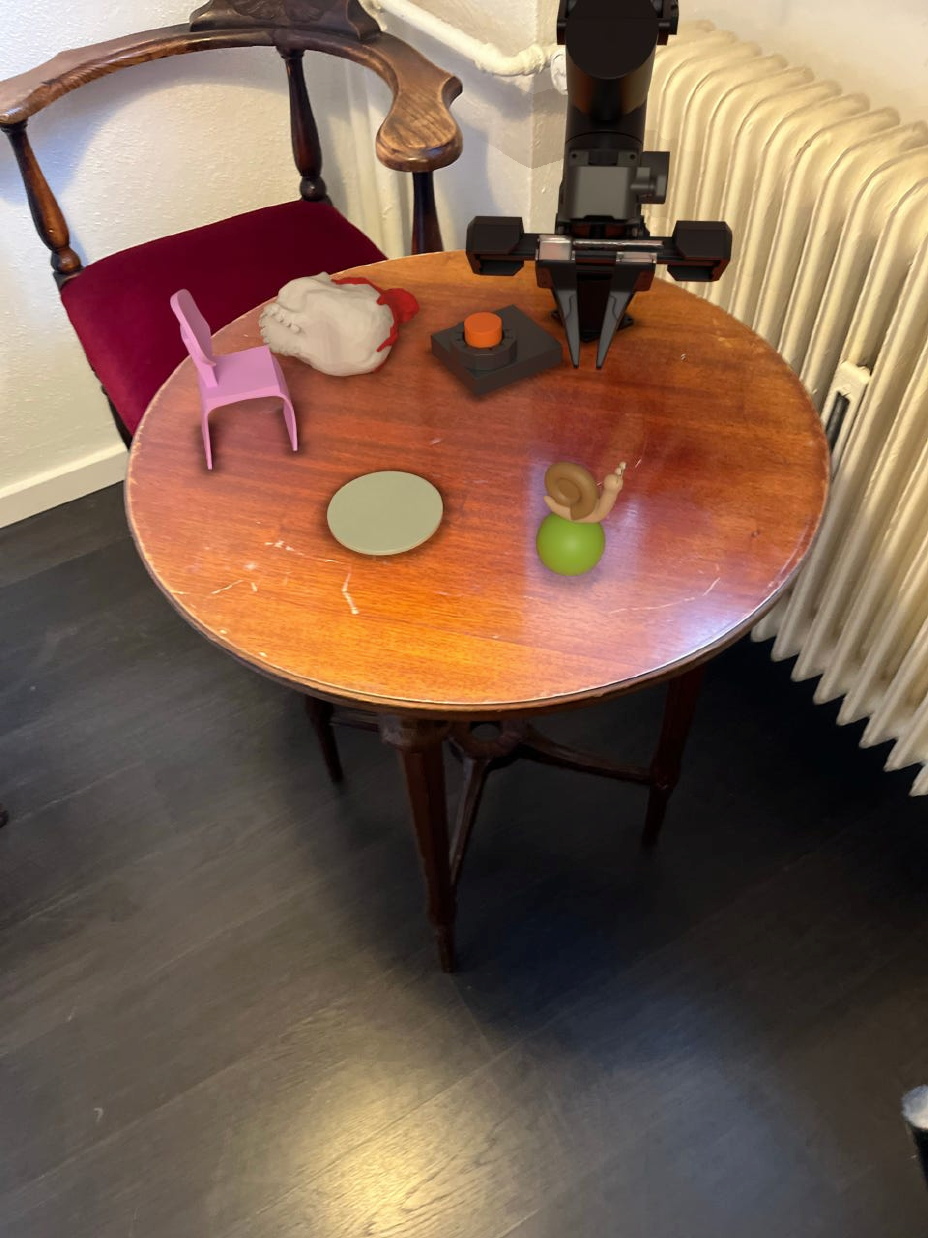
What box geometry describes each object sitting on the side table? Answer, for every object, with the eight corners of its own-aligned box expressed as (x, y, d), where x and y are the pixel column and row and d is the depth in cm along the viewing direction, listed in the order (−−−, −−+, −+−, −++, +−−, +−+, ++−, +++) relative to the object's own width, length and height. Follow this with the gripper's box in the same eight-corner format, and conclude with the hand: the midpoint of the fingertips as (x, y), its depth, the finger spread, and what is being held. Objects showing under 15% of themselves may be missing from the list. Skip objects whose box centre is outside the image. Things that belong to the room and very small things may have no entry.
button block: (513, 322, 95) (513, 287, 92) (561, 363, 90) (563, 328, 87) (429, 354, 92) (426, 319, 89) (474, 398, 87) (473, 363, 84)
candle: (260, 366, 91) (373, 321, 98) (330, 412, 85) (443, 361, 93) (249, 280, 84) (370, 239, 92) (323, 324, 79) (445, 276, 87)
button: (489, 323, 88) (489, 307, 87) (508, 341, 86) (508, 324, 85) (458, 335, 87) (457, 319, 86) (477, 353, 85) (476, 337, 84)
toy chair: (304, 456, 82) (270, 309, 71) (209, 477, 81) (158, 331, 69) (290, 403, 87) (256, 259, 76) (200, 422, 86) (152, 278, 75)
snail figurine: (594, 604, 69) (607, 489, 60) (523, 574, 72) (524, 459, 63) (625, 560, 72) (641, 444, 63) (555, 532, 75) (561, 416, 65)
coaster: (408, 460, 81) (408, 456, 81) (464, 525, 76) (464, 521, 75) (309, 502, 78) (308, 497, 78) (359, 572, 73) (358, 568, 72)
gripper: (462, 95, 58) (448, 341, 59) (758, 97, 56) (734, 352, 57) (480, 164, 69) (467, 371, 70) (727, 168, 67) (708, 381, 68)
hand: (587, 368), depth 66 cm, fingers closed
